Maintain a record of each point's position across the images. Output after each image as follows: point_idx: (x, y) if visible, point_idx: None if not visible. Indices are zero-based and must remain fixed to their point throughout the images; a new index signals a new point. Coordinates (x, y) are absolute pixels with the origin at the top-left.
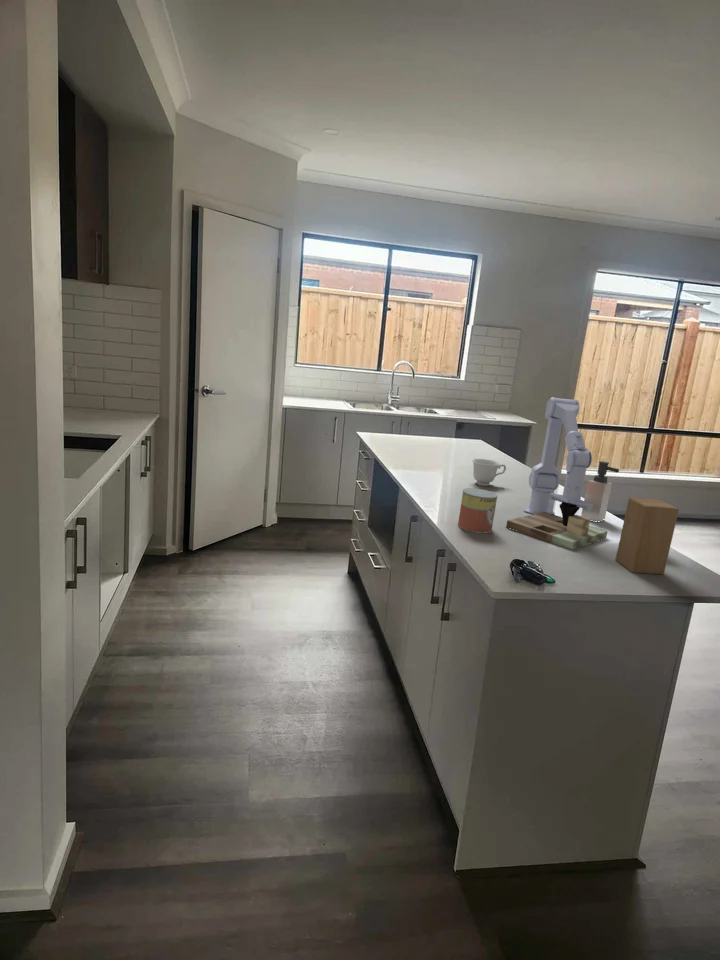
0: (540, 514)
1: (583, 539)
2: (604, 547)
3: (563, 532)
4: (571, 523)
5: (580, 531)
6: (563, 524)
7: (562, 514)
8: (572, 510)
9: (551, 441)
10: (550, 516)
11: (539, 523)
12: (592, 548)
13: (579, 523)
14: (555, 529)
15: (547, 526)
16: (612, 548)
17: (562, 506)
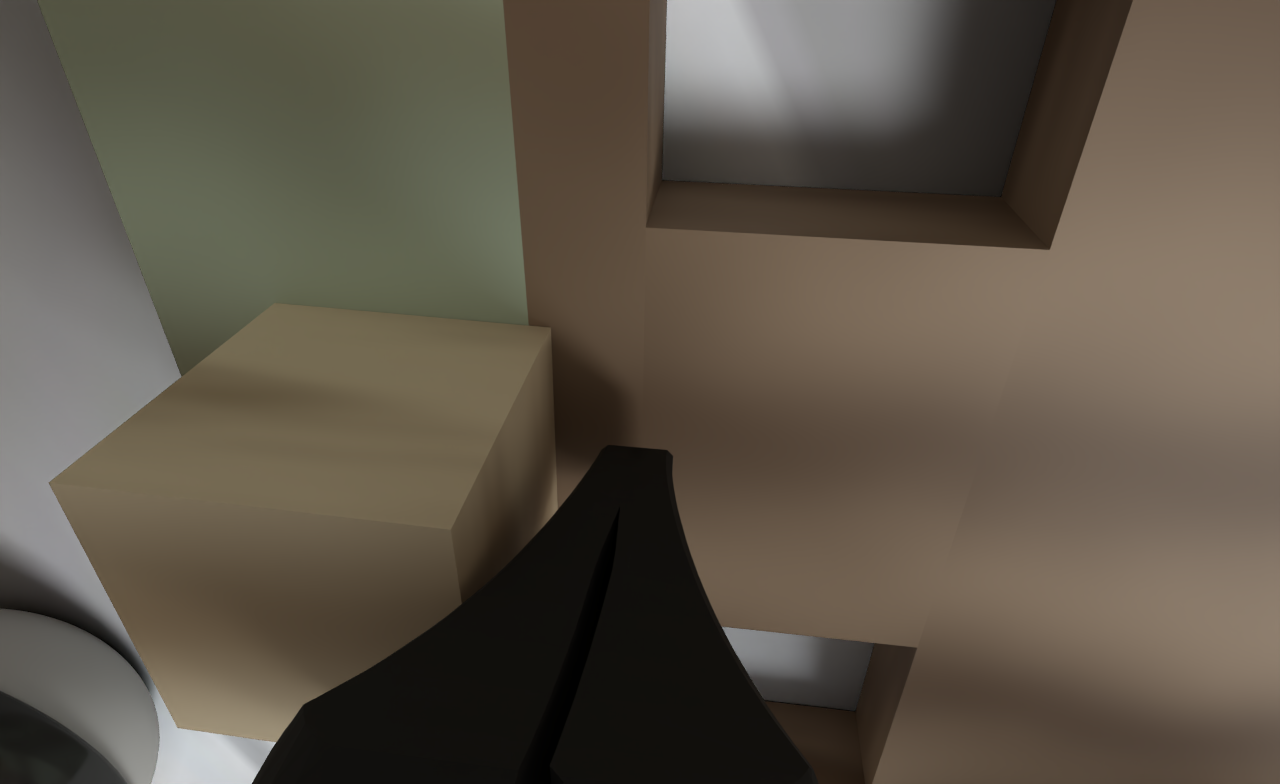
0: (1245, 764)
1: (104, 156)
2: (118, 396)
3: (513, 174)
4: (410, 419)
5: (239, 340)
6: (659, 456)
7: (689, 591)
8: (307, 709)
9: None
10: (1074, 779)
11: (1145, 298)
12: (96, 195)
13: (190, 432)
14: (725, 231)
15: (927, 255)
16: (76, 444)
17: (676, 781)
